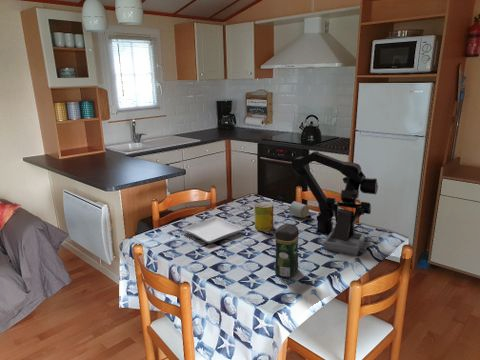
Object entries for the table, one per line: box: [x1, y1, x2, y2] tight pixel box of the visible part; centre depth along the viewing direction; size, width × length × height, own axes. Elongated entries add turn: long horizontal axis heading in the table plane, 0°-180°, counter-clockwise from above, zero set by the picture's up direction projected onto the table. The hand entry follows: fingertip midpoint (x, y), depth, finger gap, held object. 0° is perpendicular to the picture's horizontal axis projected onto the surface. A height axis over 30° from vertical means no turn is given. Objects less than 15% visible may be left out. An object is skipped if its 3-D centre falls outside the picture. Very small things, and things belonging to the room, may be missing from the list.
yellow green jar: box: [254, 201, 274, 232], centre depth 183 cm, size 9×9×12 cm
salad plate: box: [182, 216, 244, 244], centre depth 178 cm, size 21×21×3 cm
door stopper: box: [333, 208, 356, 241], centre depth 160 cm, size 9×6×12 cm, turn 139°
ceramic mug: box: [288, 200, 310, 219], centre depth 198 cm, size 11×8×8 cm
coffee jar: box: [274, 223, 299, 278], centre depth 139 cm, size 10×8×19 cm
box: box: [322, 228, 366, 257], centre depth 163 cm, size 14×16×4 cm
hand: (344, 223), depth 158 cm, fingers closed on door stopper, 6 cm apart
